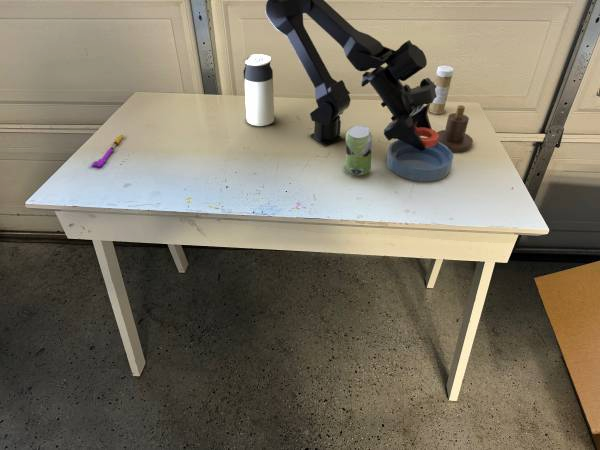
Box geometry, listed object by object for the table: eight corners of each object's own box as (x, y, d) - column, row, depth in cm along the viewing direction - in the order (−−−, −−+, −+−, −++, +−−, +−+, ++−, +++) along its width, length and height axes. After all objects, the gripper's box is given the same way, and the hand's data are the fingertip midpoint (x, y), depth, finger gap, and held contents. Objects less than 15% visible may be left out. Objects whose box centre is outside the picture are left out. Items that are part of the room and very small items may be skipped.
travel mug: (249, 128, 127) (244, 65, 116) (245, 116, 133) (240, 55, 122) (276, 125, 129) (274, 62, 117) (271, 113, 135) (269, 52, 123)
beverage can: (373, 167, 112) (378, 124, 104) (363, 183, 106) (369, 138, 99) (349, 162, 114) (353, 118, 106) (339, 176, 108) (342, 132, 101)
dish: (417, 190, 104) (420, 176, 102) (373, 160, 114) (375, 147, 112) (463, 170, 111) (466, 157, 108) (417, 144, 121) (420, 131, 118)
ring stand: (453, 156, 116) (463, 119, 109) (425, 140, 122) (433, 104, 116) (479, 145, 120) (490, 109, 114) (450, 131, 127) (459, 95, 120)
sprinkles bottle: (435, 107, 139) (444, 63, 130) (447, 112, 136) (457, 68, 127) (425, 111, 136) (434, 67, 128) (437, 116, 134) (447, 72, 125)
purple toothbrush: (101, 167, 110) (125, 137, 123) (99, 163, 110) (123, 133, 122) (92, 169, 111) (116, 138, 123) (89, 165, 110) (114, 135, 122)
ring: (404, 142, 107) (406, 136, 106) (413, 130, 112) (414, 124, 110) (432, 149, 104) (434, 143, 103) (440, 137, 109) (441, 131, 108)
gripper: (405, 85, 93) (446, 145, 96) (430, 58, 105) (466, 111, 108) (366, 112, 101) (405, 167, 104) (393, 84, 113) (428, 133, 116)
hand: (428, 143), depth 108 cm, fingers closed on ring, 7 cm apart
